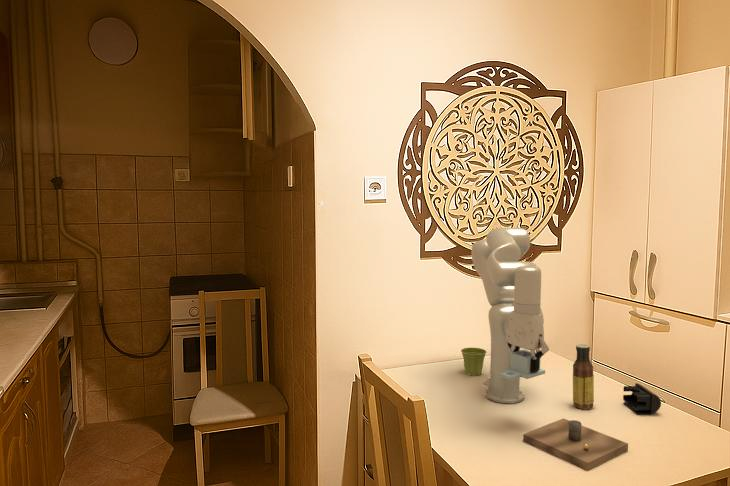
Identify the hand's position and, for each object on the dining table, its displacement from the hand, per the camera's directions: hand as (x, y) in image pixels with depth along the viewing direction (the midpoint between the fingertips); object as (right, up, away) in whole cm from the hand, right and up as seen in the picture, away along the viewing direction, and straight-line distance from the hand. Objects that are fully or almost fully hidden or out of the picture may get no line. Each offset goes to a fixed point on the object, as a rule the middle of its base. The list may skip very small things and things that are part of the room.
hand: (525, 367), depth 164 cm
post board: (+10, -18, -12) cm, 24 cm away
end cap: (+40, -16, +12) cm, 45 cm away
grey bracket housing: (-2, -2, -1) cm, 3 cm away
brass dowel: (+10, -17, -19) cm, 28 cm away
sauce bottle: (+23, -16, +15) cm, 31 cm away
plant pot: (-6, -13, +47) cm, 49 cm away
